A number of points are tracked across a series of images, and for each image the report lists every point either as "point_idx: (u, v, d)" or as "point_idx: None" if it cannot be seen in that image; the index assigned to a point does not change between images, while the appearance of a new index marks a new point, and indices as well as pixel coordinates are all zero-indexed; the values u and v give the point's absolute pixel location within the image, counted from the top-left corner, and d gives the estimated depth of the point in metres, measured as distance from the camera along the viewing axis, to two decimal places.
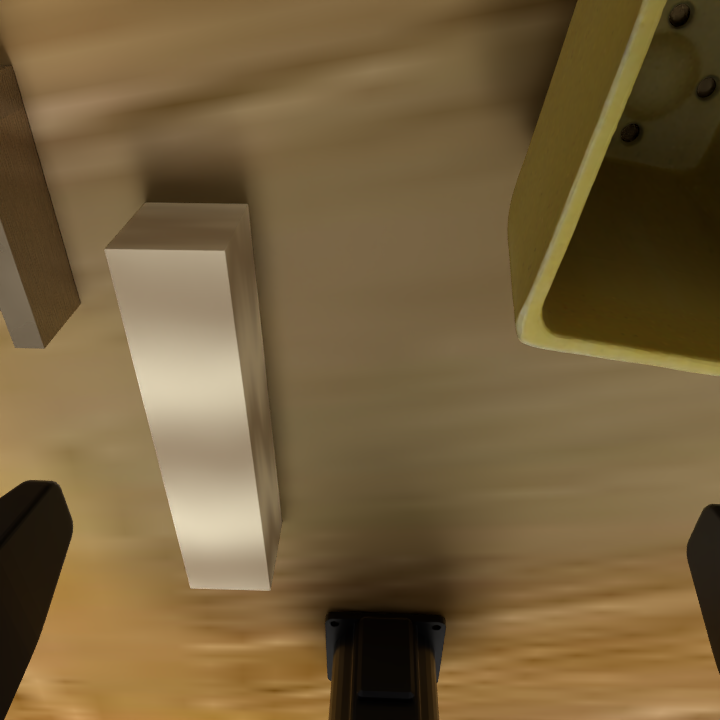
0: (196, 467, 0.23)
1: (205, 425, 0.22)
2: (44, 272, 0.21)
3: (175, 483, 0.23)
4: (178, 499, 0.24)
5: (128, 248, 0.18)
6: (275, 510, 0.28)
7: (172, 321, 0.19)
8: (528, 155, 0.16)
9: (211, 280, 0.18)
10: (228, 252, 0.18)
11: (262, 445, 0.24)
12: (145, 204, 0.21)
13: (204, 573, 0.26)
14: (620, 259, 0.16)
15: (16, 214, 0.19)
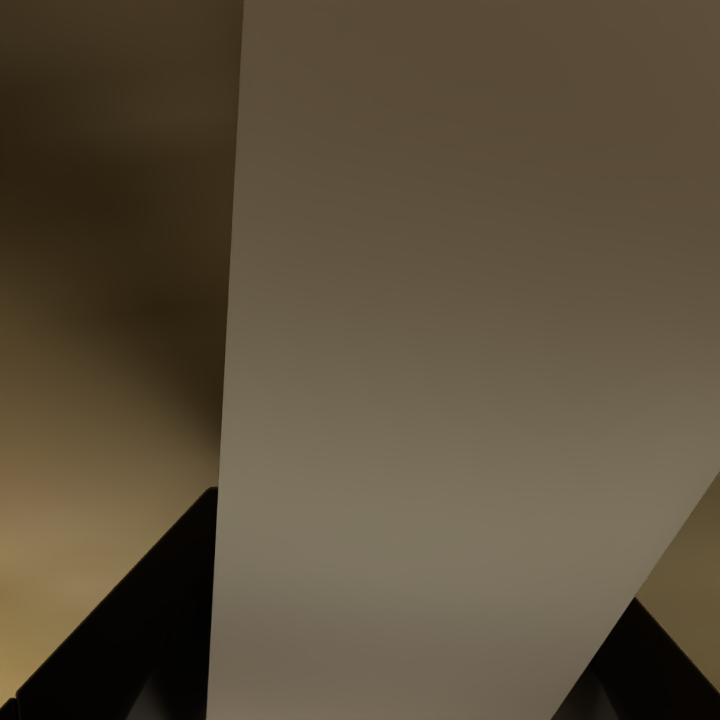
0: None
1: (427, 645, 0.06)
2: None
3: None
4: None
5: None
6: None
7: (524, 199, 0.03)
8: None
9: None
10: None
11: None
12: None
13: None
14: None
15: None
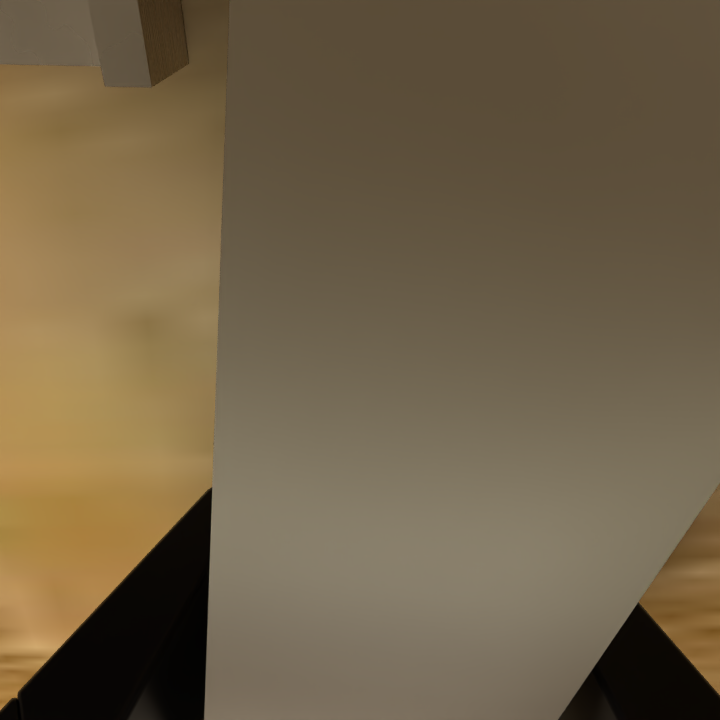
0: None
1: (427, 653, 0.06)
2: None
3: None
4: None
5: None
6: None
7: (522, 202, 0.03)
8: None
9: None
10: None
11: None
12: None
13: None
14: None
15: None
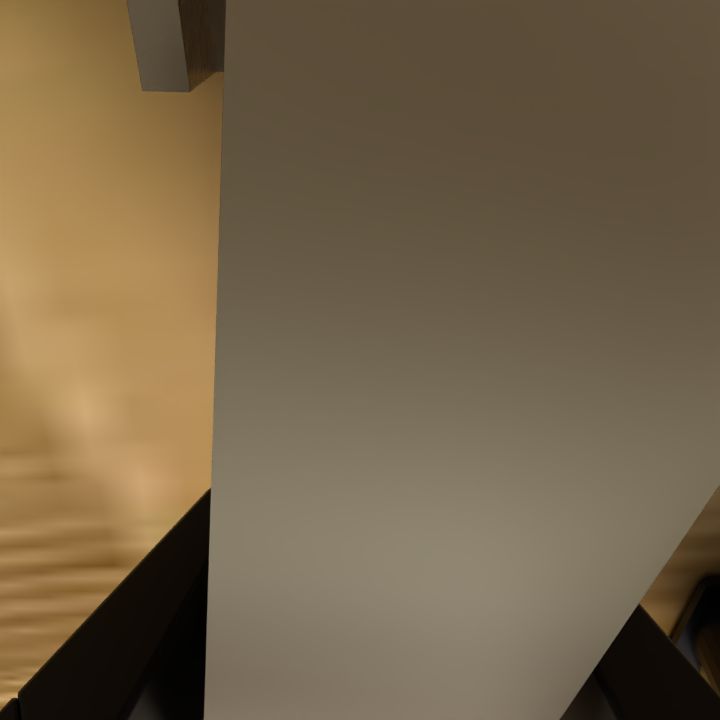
0: None
1: (427, 653, 0.06)
2: None
3: None
4: None
5: None
6: None
7: (522, 197, 0.03)
8: None
9: None
10: None
11: None
12: None
13: None
14: None
15: None
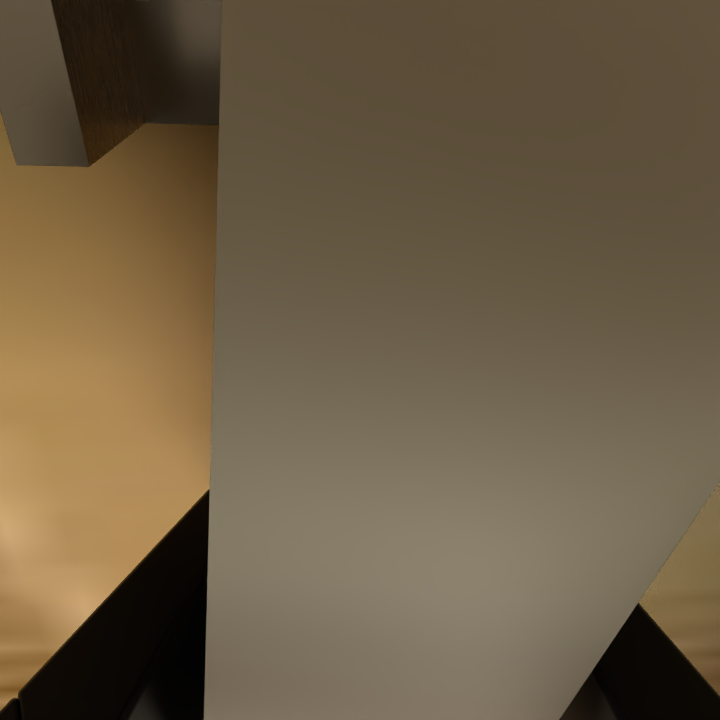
0: None
1: (427, 652, 0.06)
2: None
3: None
4: None
5: None
6: None
7: (518, 195, 0.03)
8: None
9: None
10: None
11: None
12: None
13: None
14: None
15: None
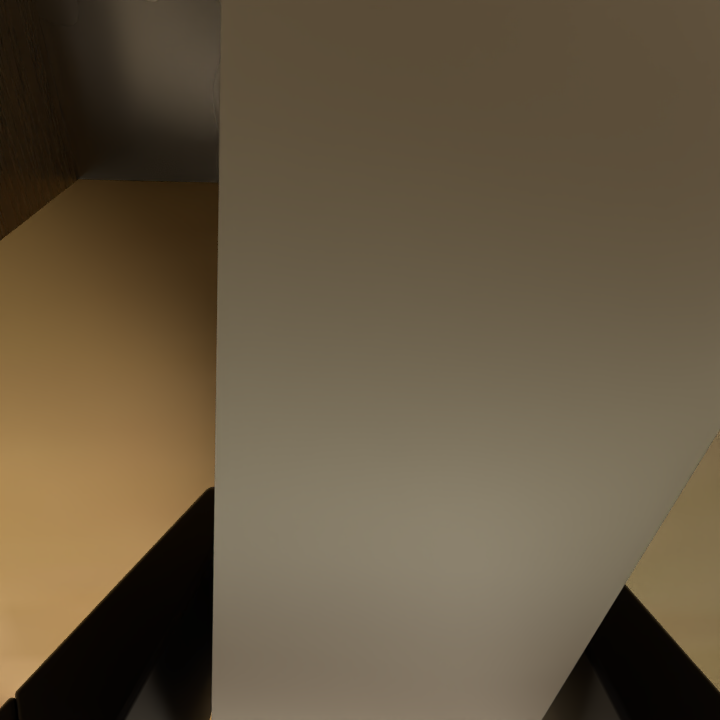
0: None
1: (428, 630, 0.06)
2: None
3: None
4: None
5: None
6: None
7: (507, 177, 0.03)
8: None
9: None
10: None
11: None
12: None
13: None
14: None
15: None
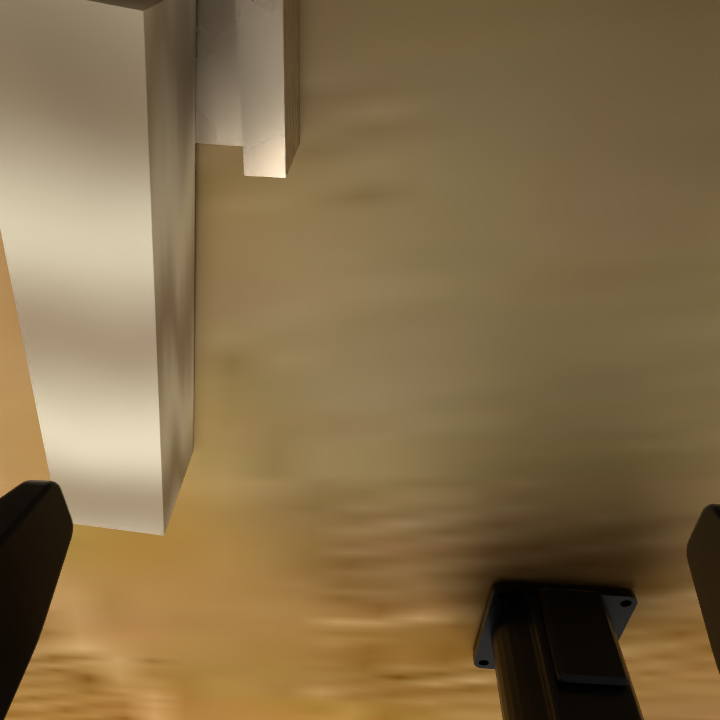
0: (76, 358, 0.17)
1: (93, 297, 0.15)
2: (291, 70, 0.15)
3: (46, 377, 0.17)
4: (49, 400, 0.18)
5: None
6: (183, 437, 0.22)
7: (53, 123, 0.13)
8: None
9: (119, 61, 0.12)
10: (148, 20, 0.12)
11: (174, 345, 0.18)
12: None
13: (79, 504, 0.20)
14: None
15: None
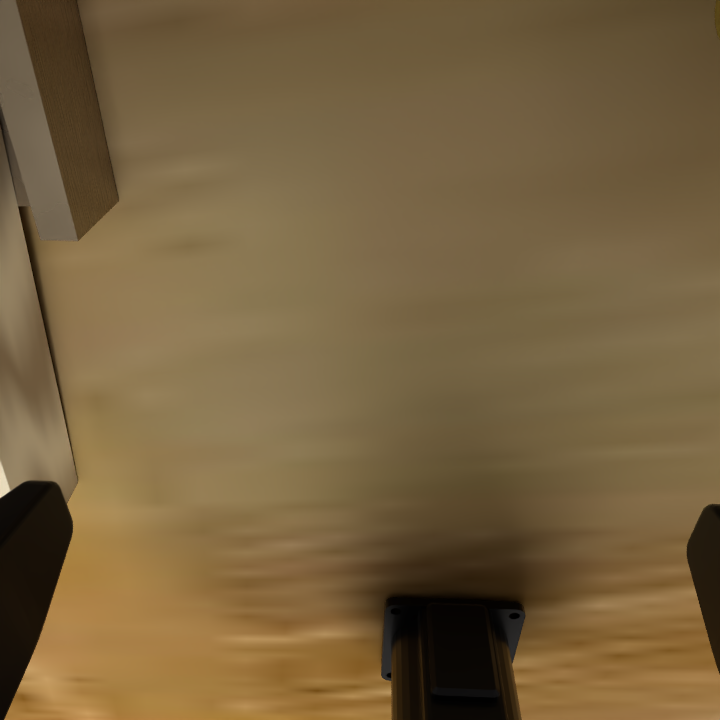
0: None
1: None
2: (78, 142, 0.16)
3: None
4: None
5: None
6: (55, 471, 0.23)
7: None
8: None
9: None
10: None
11: (17, 391, 0.20)
12: None
13: None
14: None
15: (47, 52, 0.15)
